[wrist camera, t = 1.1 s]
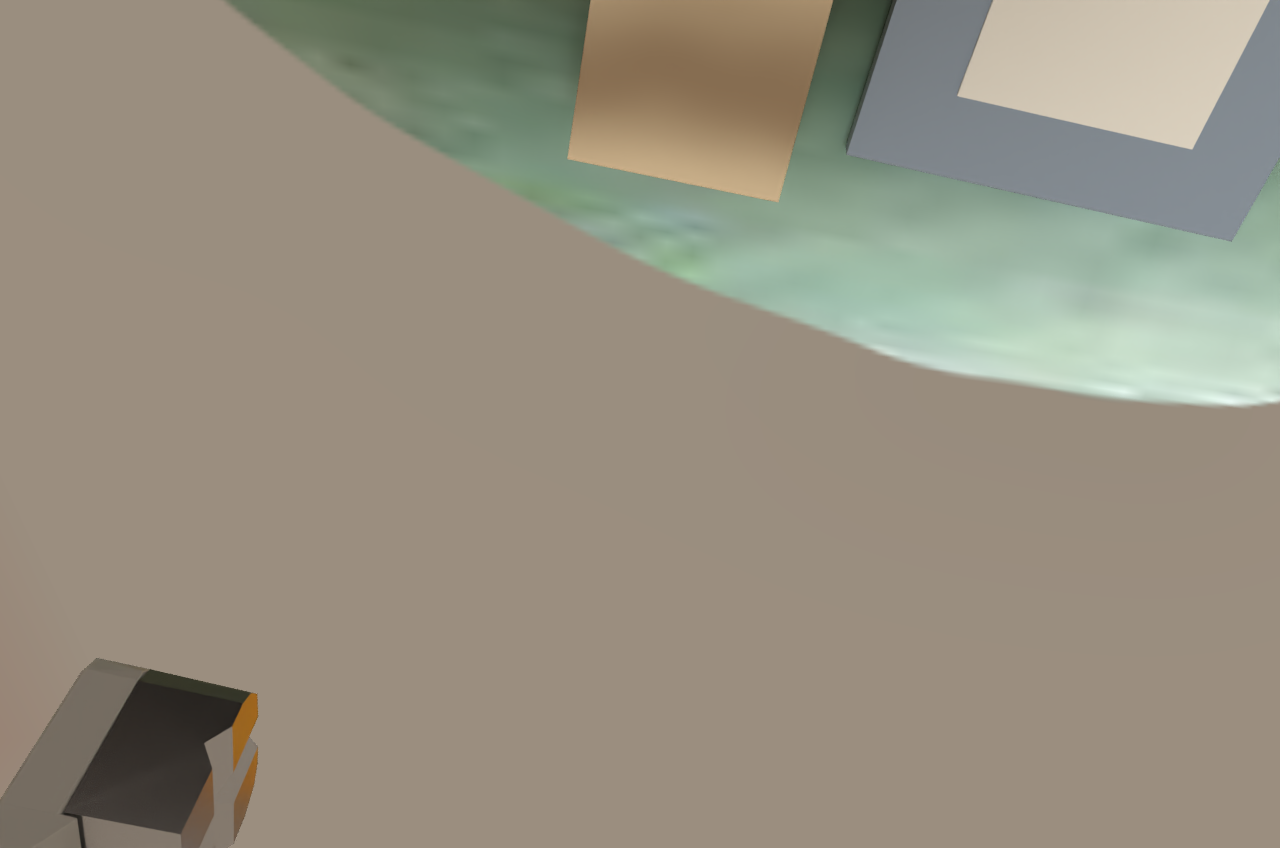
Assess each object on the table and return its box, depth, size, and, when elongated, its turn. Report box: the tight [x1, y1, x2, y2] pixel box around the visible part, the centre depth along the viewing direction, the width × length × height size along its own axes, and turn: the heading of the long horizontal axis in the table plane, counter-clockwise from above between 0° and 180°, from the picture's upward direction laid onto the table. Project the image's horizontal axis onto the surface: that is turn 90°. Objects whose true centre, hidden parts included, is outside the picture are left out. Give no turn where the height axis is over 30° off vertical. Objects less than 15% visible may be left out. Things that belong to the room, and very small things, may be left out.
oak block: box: [567, 0, 833, 202], centre depth 33 cm, size 6×6×4 cm
